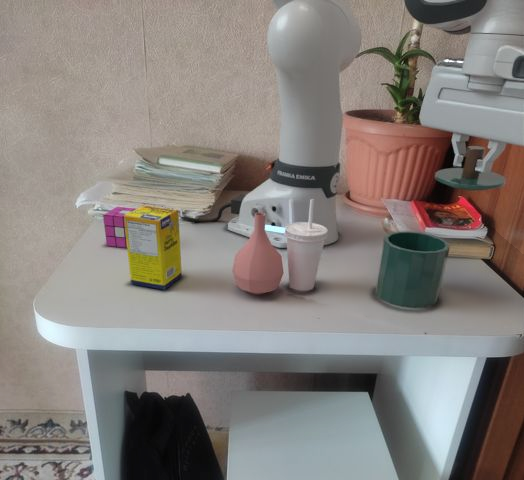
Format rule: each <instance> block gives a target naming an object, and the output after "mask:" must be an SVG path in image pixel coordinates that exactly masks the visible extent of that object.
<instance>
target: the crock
mask: <svg viewBox="0 0 524 480" xmlns="http://www.w3.org/2000/svg"><path fill="white" fill-rule="evenodd" d="M450 247H451V246H450V244H449V242H448V241H446V240H445V239H444V238H442V237H439V236H437V235H433V234H431V233H425V232H420V231H418V232H417V231H411V230H410V231H409V230H407V231H406V230H404V231H394V232H389V233H387V234H386V235H385V236H383V241H382V247H381V253H380V261H379V265H378V272H377V278H376V283H375V295H376V296H377V297H378V298H379V299H380V300H381V301H383V302H386V303H388V304H390V305H394V306H396V307H397V306H398V307H400V308H401V307H402V308H409V309H422V308H423V309H424V308H428V307H432V306H434V305H435V304H436V303H437V301H438V299H439V294H440V291H441V286H442V282H443V277H444V273H445V271H446V270H445V269H446V265H447V260H448V256H449V252H450Z"/></svg>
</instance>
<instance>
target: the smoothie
mask: <svg viewBox="0 0 524 480" xmlns="http://www.w3.org/2000/svg"><path fill="white" fill-rule="evenodd" d="M313 207H314V199H310V209H309V221H308V222H297V223H291V224H289V225H287V226H286V227H285V233H284V234H285V236H286V237H287V248H286V249H287V250H286V252H287V265H288V266H287V269H288V283H289V284H288V285H289V286H288V287H289V289H292V290H295V291H300V292H305V291H310V290H313V289H314V287H315V284H316V279H317V274H318V269H319V266H320V262H321V258H322V257H321V256H322V253H323V248H324V246H325V245H324V240H325V239H326V238H327V232H328V230H327V228H325V227H324V226H322V225H319V224H315V223H312V219H313Z"/></svg>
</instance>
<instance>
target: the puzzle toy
mask: <svg viewBox="0 0 524 480" xmlns="http://www.w3.org/2000/svg"><path fill="white" fill-rule="evenodd" d="M136 209H138V208H136V207H125V206H115V207H114V208H112V209H110V210H109V211H108V212H106V213H104V214H103V215H102V218H103V225H104V233H105V235H104V236H105V241H106V246H107V247H114V248H123V249H127V241H126V231H125V222H124V216H125V214H127V213H129V212H131V211H134V210H136Z"/></svg>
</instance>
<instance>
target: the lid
mask: <svg viewBox="0 0 524 480" xmlns="http://www.w3.org/2000/svg"><path fill="white" fill-rule="evenodd" d="M485 152H486V148H485V147H484V146H481V145H480V146H479V145H469V146H467V147H466V157H465V162H464V166H463V169H462V168H458V167H450V168H443V169H440V170H437V171H436V172H435V173H434V179H435V180H436V181H437V182H439V183H441V184H443V185H446V186H448V187H451V188H454V189H457V190H458V189H459V190H463V191H476V192H478V191H488V190H494V189H499V188H502V187H504V186H505V185H506V182H507V179H506V177H505V176H503V175H501V174H500V173H497V172H493V171H491V172H490V173H489V174H481V173H477V172H475V167H476V166H477V165H476V163H477V160H478V159H484V158H485Z"/></svg>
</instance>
